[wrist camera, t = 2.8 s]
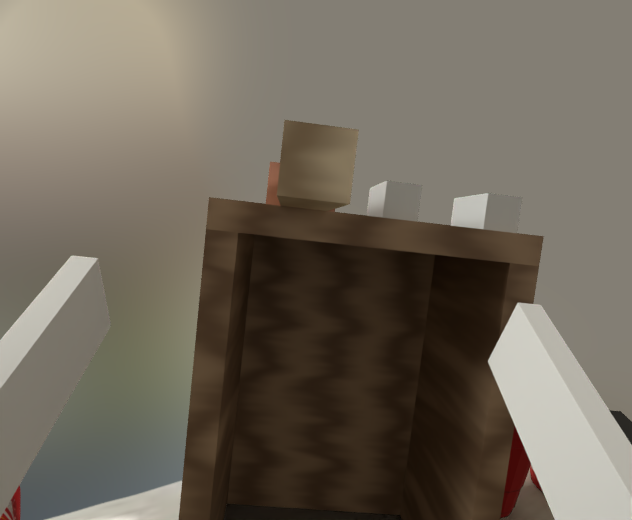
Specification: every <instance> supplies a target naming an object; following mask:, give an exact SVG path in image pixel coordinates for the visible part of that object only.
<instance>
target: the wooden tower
mask: <svg viewBox="0 0 632 520" xmlns="http://www.w3.org/2000/svg"><path fill="white" fill-rule="evenodd" d="M542 243H543V236H535V235H527V234H519V233H510V232H501V231H493V230H484V229H476V228H467V227H459V226H450V225H442V224H433V223H425V222H416V221H408V220H399V219H390V218H382V217H373V216H365V215H356V214H347V213H339V212H331V211H322V210H314V209H305V208H296V207H288V206H279V205H271V204H262V203H254V202H245V201H236V200H228V199H220V198H210V197H209V204H208V216H207V225H206V236H205V248H204V257H203V268H202V279H201V289H200V301H199V311H198V321H197V332H196V343H195V354H194V365H193V374H192V385H191V395H190V406H189V418H188V428H187V438H186V449H185V459H184V471H183V480H182V491H181V502H180V512H179V520H224V516H225V511H226V506H227V504H239V505H254V506H269V507H285V508H300V509H315V510H330V511H346V512H361V513H376V514H391V515H400V516H401V519H402V520H500V516H501V510H502V503H503V497H504V490H505V484H506V477H507V471H508V464H509V458H510V451H511V445H512V438H513V432H514V422H513V420H512V417H511V415H510V413H509V410H508V408H507V406H506V403H505V401H504V399H503V396H502V394H501V392H500V389H499V387H498V384H497V382H496V380H495V377H494V375H493V373H492V370H491V368H490V366H489V363H488V360H489V358H490V356H491V354H492V352H493V350H494V348H495V346H496V344H497V342H498V340H499V338H500V336H501V334H502V332H503V331H504V329H505V327H506V325H507V323H508V321H509V319H510V317H511V315H512V313H513V311H514V309H515V307H516V305H517V303H527V304H533V302H534V295H535V289H536V282H537V275H538V269H539V262H540V256H541V250H542Z"/></svg>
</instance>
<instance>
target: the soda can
mask: <svg viewBox="0 0 632 520" xmlns="http://www.w3.org/2000/svg"><path fill="white" fill-rule="evenodd" d="M0 520H20V486H18V488H17V490H16V492H15V493H14V495H13V497H12V499H11V500H10V502H9V504H8V506H7V507H6V509H5V511H4V513H3V514H2V516H1V518H0Z"/></svg>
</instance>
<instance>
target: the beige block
mask: <svg viewBox="0 0 632 520" xmlns="http://www.w3.org/2000/svg"><path fill="white" fill-rule="evenodd" d="M358 131H359V130H357V129H350V128H342V127H335V126H327V125H319V124H312V123H303V122H296V121H289V120H285V122H284V132H283V141H282V150H281V160H280V163H277V162H270V168H269V178H268V188H267V198H266V204H271V205H279V206H288V207H296V208H305V209H314V210H322V211H331V212H335V209H336V208H339V207H342V206H345V205H348V204H350V198H351V190H352V182H353V174H354V165H355V157H356V148H357V140H358Z"/></svg>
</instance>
